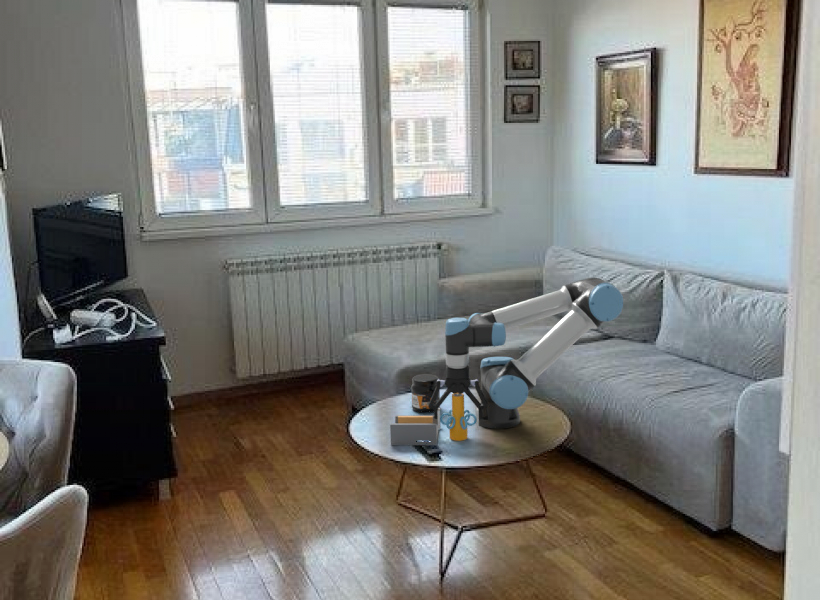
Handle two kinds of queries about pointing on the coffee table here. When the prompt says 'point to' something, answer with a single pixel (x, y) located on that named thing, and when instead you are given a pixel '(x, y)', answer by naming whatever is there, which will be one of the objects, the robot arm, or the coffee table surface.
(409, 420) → the bar
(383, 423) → the coffee table surface
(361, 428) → the coffee table surface
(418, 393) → the supplement container
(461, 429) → the cylinder
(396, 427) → the frame
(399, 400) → the coffee table surface
